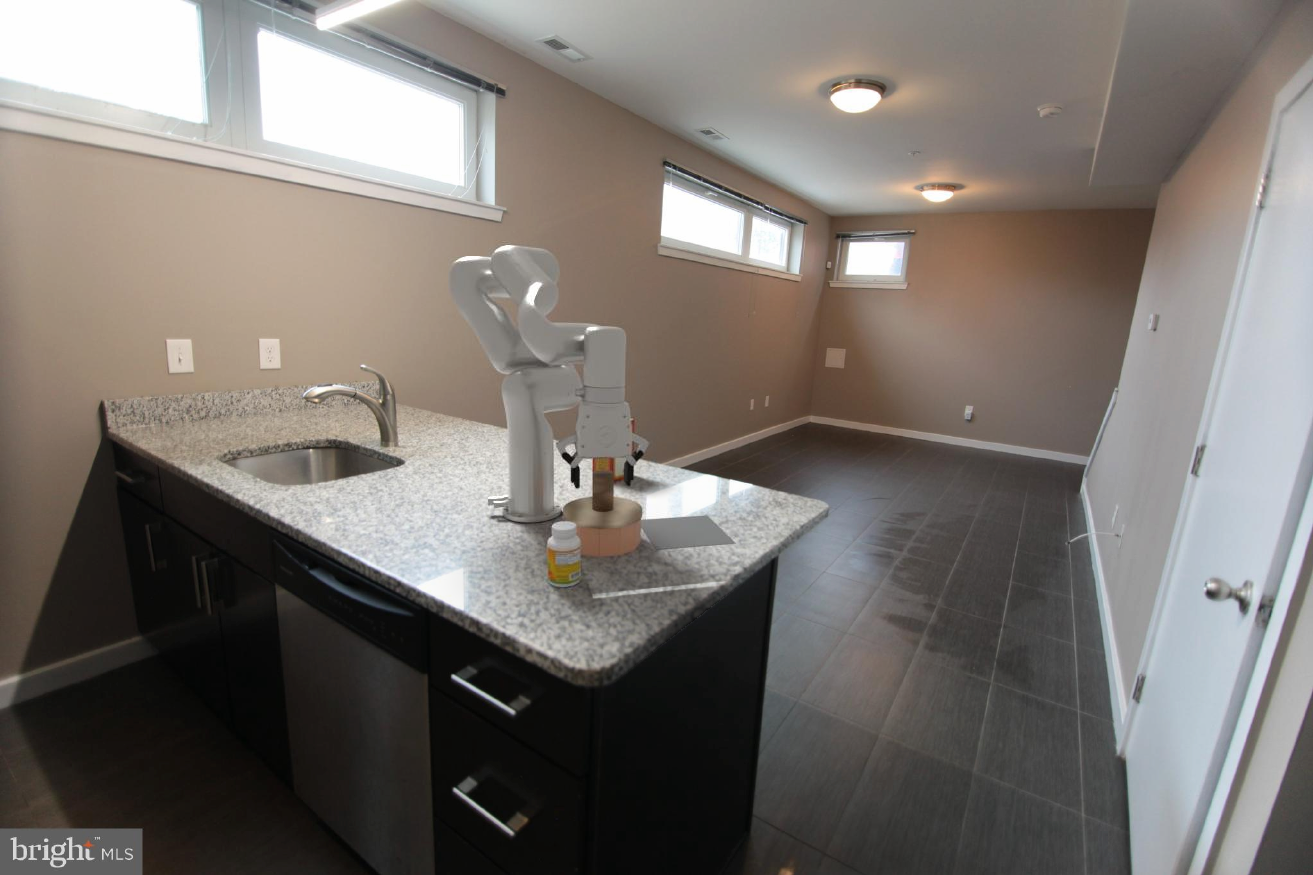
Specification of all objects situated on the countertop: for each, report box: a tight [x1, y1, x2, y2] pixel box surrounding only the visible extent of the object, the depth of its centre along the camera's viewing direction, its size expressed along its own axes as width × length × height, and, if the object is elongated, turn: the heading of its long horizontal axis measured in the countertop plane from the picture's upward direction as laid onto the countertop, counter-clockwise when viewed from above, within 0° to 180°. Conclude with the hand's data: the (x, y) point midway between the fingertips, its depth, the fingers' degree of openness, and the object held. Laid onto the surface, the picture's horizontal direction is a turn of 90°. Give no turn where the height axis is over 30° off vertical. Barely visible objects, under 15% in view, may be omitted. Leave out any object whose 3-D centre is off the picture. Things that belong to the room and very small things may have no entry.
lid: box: [562, 470, 643, 529], centre depth 111 cm, size 15×15×8 cm
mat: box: [641, 514, 736, 551], centre depth 119 cm, size 16×16×1 cm
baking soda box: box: [591, 418, 635, 483], centre depth 156 cm, size 10×6×16 cm
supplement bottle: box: [546, 520, 582, 588], centre depth 96 cm, size 5×5×10 cm
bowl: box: [564, 518, 642, 558], centre depth 112 cm, size 14×14×6 cm
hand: (602, 485), depth 111 cm, fingers open, 9 cm apart
